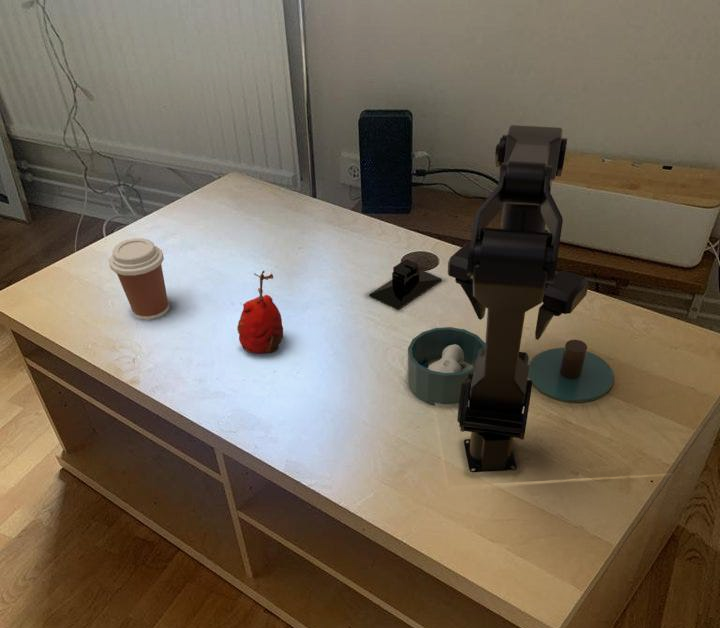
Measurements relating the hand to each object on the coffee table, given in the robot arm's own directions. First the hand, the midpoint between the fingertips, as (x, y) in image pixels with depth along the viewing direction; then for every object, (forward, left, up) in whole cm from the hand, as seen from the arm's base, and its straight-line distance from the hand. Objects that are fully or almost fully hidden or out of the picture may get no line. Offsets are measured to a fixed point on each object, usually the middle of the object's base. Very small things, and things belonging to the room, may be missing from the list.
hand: (509, 327), depth 105 cm
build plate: (+27, +13, -10) cm, 32 cm away
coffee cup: (+25, +59, -10) cm, 65 cm away
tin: (0, +9, -10) cm, 13 cm away
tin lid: (-1, -10, -9) cm, 14 cm away
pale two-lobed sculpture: (+1, +8, -9) cm, 13 cm away
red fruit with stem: (+12, +38, -10) cm, 41 cm away
